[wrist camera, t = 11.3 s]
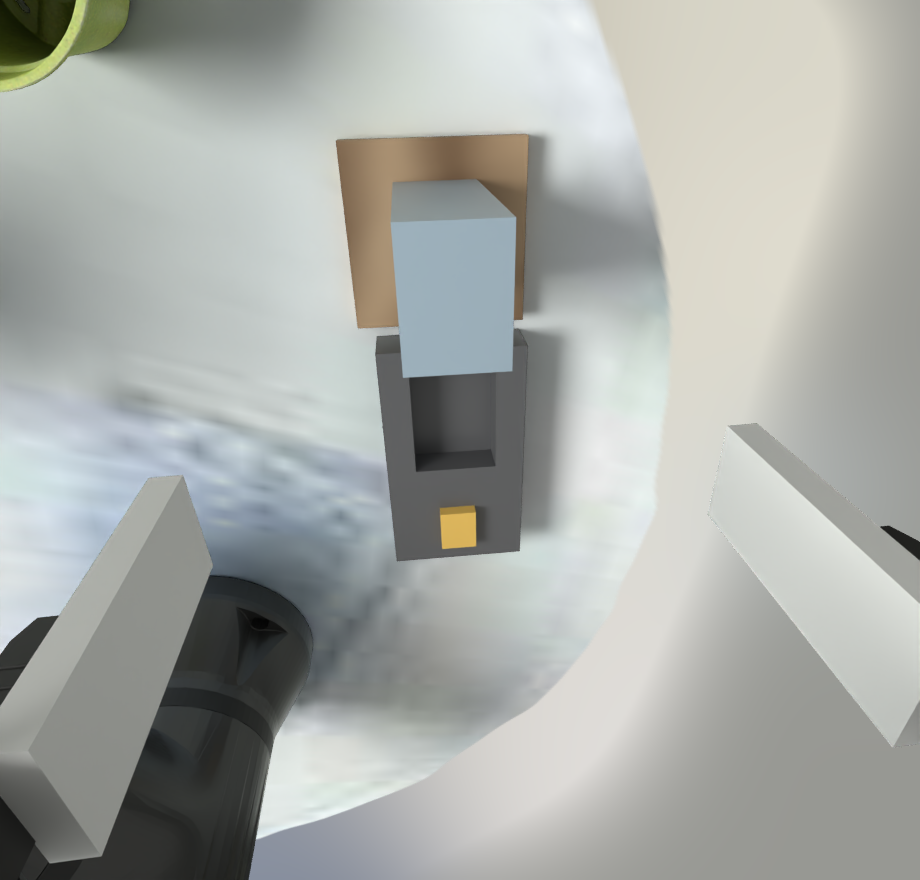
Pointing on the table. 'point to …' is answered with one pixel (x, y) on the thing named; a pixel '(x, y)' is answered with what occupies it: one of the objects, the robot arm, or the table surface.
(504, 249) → the light blue tall block
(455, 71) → the table surface
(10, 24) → the plant pot
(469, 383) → the dark grey holder
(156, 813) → the robot arm
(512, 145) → the walnut board
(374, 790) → the table surface
